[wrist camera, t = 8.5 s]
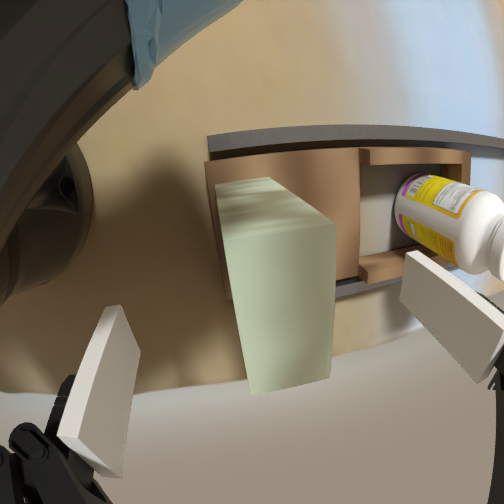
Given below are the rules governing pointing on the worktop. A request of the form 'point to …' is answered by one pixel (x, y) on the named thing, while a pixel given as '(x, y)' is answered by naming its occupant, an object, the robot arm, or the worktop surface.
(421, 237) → the supplement bottle
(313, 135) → the lane rails
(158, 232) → the worktop surface
